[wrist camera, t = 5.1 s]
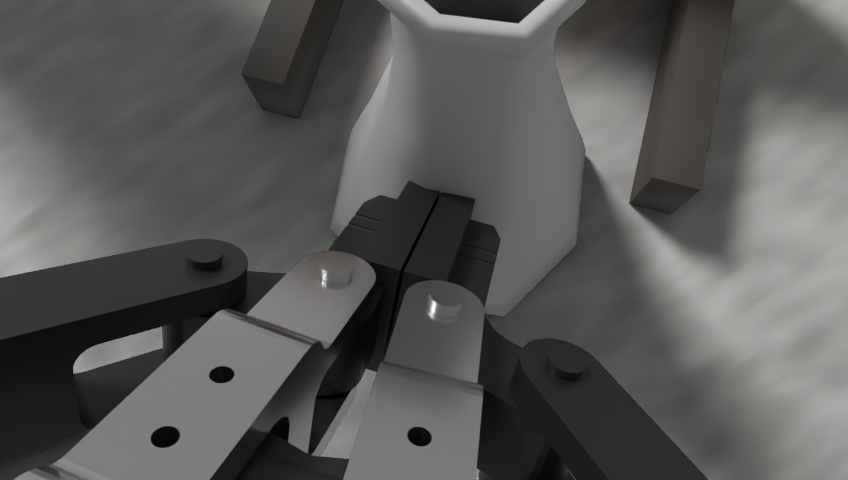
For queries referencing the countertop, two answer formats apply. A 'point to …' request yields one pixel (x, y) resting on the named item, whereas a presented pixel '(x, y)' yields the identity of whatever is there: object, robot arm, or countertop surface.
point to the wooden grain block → (668, 113)
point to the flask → (476, 129)
